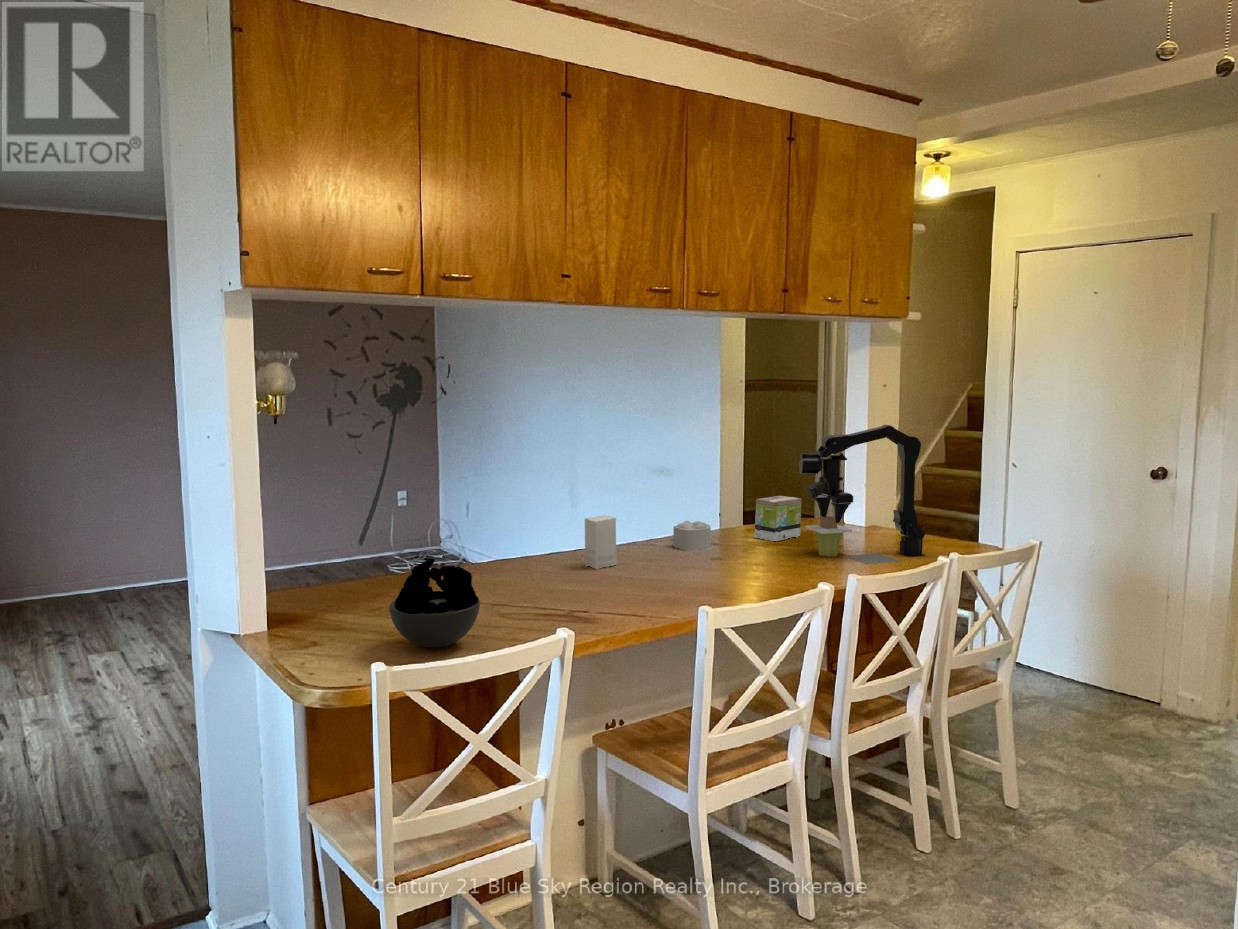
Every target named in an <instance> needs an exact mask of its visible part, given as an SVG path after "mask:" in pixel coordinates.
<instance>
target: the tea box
mask: <svg viewBox="0 0 1238 929" xmlns="http://www.w3.org/2000/svg"><path fill="white" fill-rule="evenodd" d="M754 517H755V518H754V520H755V521H754V539H757V538H760V539H759V540H762V539H764V540H763V541H767V540H769V541H768V542H773V541H776V542H779V541H784V540H789V539H788V538H790V539H792V538H791V537H796V538H799V537H798V536H800V537H801V526H802V525H801V522H802V498H799V497H792V496H785V495H775V496H769V497H762V498H756V499H755V516H754Z"/></svg>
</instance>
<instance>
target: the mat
mask: <svg viewBox="0 0 1238 929" xmlns="http://www.w3.org/2000/svg"><path fill="white" fill-rule="evenodd" d="M845 557H846V558H849V559H852V560H855V562H856V561H857V562H859V563H862V564H864V565H873V564H876V565H879V564H887V563H889V564H890V563H901V562H903V561H902V560H898V559H896V558H893V557H891V556H888V555H885V554H882V553H880V552H879V553H876V552H875V553H863V554H851V555H850V554H848V555H845Z"/></svg>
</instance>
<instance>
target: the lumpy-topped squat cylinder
mask: <svg viewBox="0 0 1238 929" xmlns="http://www.w3.org/2000/svg"><path fill="white" fill-rule="evenodd" d="M711 528H712V527H711V525H710V524H707V522H703V521H700V520H697V521H693V522H691V521H690V520H685V521H683V522H680V523H678V524H677V525H674V526H673V532H672V533H673V544H672V545H673V546H674V547H676V548H675V549H678V548H681V549H684V550H683V551H686V550H692V551H696V550H695V549H701V550H703V549H702V548H707V549H709V548H711V542H712V539H711V533H712V530H711ZM674 547H673V548H674ZM681 549H680V550H681Z"/></svg>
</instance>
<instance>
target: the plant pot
mask: <svg viewBox="0 0 1238 929" xmlns="http://www.w3.org/2000/svg"><path fill="white" fill-rule="evenodd" d="M815 535H816V542H817V550H818V551H817V552H818V555H819V556H822V557H836V556H837V557H838V553H839V548H840V543H841V537H842V536H843V533H829V534H821V533H818V532H815Z"/></svg>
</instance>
